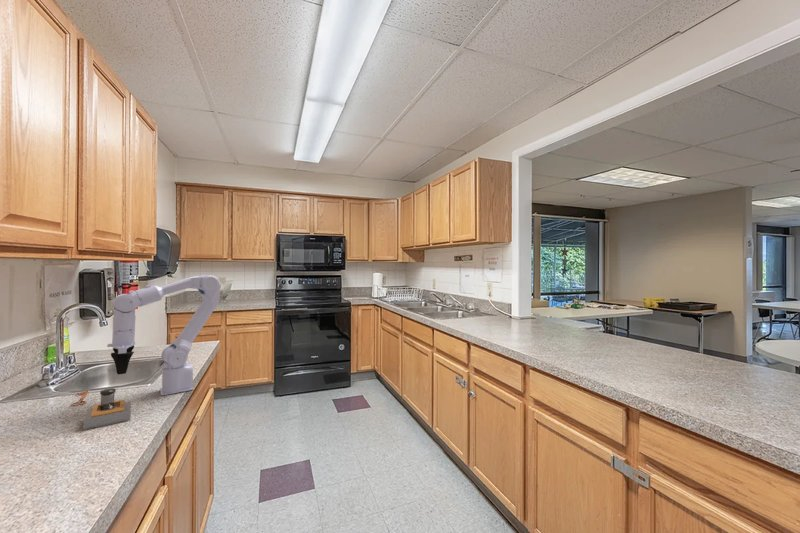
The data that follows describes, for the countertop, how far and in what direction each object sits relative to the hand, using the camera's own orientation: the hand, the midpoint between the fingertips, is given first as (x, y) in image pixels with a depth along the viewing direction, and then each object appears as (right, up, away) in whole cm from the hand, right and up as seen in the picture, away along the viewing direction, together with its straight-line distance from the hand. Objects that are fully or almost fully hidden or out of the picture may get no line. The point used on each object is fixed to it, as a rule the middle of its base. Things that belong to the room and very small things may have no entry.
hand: (122, 370), depth 109 cm
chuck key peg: (+6, -7, -13) cm, 16 cm away
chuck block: (+7, -11, -12) cm, 18 cm away
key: (-17, -11, +2) cm, 20 cm away
